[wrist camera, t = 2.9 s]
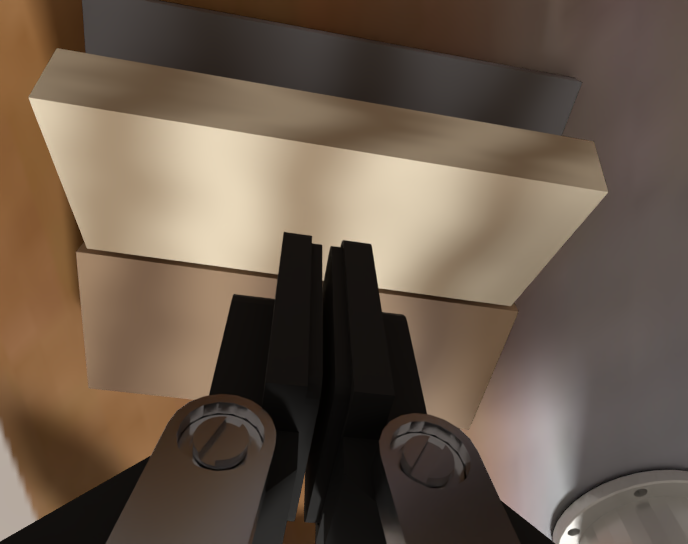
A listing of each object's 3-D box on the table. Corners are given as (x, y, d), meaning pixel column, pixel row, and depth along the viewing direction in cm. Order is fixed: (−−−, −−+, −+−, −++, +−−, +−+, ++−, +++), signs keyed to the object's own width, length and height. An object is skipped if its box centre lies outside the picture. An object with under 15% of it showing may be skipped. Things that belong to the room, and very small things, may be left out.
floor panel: (574, 78, 23) (608, 97, 20) (457, 387, 32) (468, 429, 30) (89, -13, 21) (52, -5, 18) (111, 346, 30) (88, 388, 27)
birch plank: (593, 141, 20) (608, 192, 19) (504, 262, 27) (510, 306, 25) (56, 48, 18) (28, 97, 17) (104, 204, 25) (86, 248, 23)
